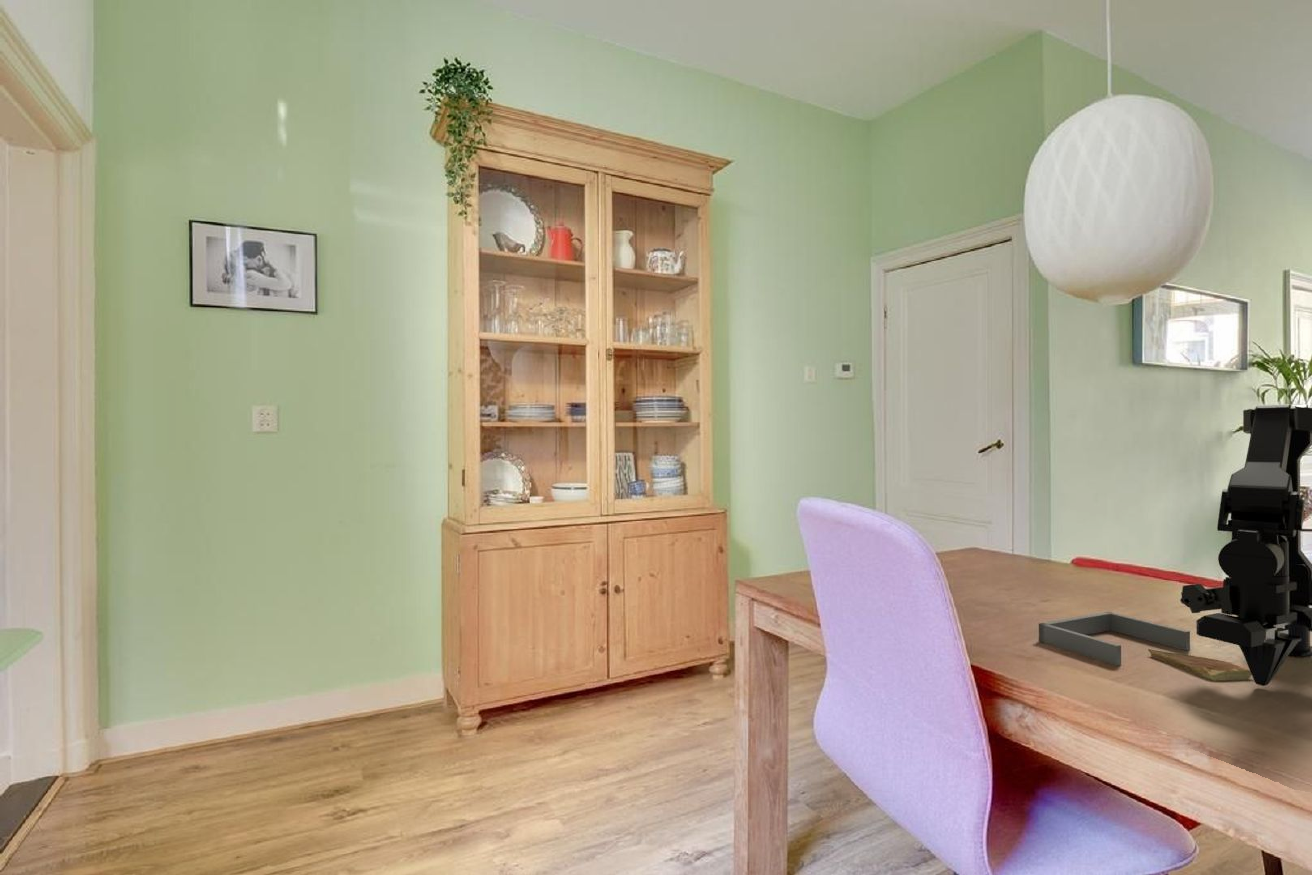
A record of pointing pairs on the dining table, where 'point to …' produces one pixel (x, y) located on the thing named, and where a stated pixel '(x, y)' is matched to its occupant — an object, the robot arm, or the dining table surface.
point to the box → (1076, 630)
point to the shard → (1204, 666)
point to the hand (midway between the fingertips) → (1261, 684)
